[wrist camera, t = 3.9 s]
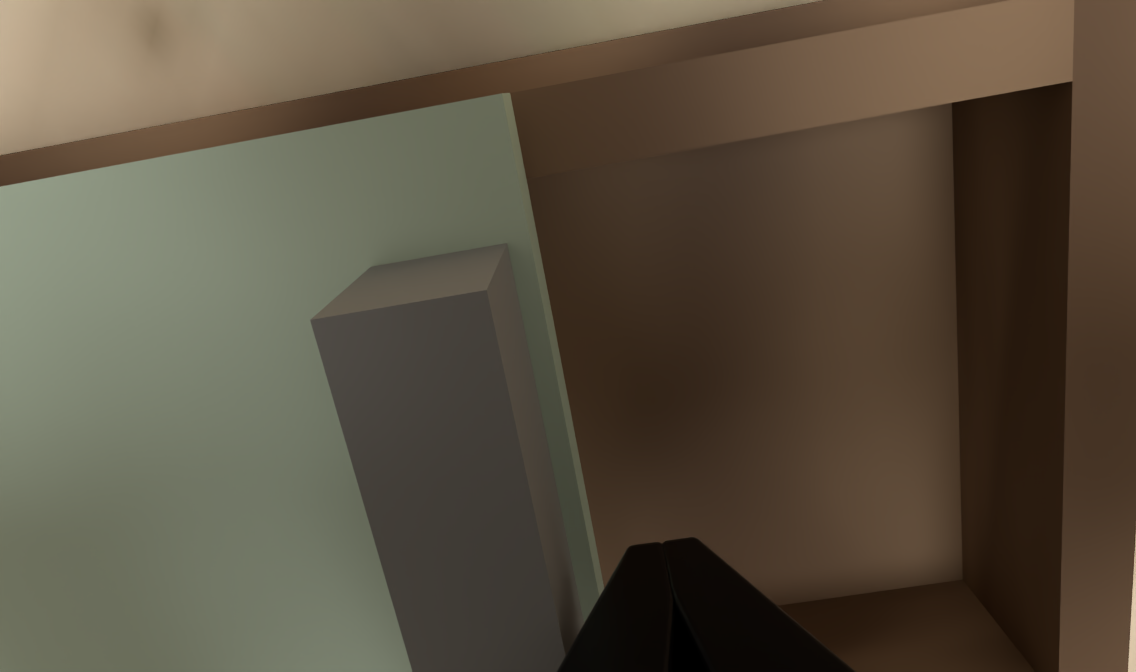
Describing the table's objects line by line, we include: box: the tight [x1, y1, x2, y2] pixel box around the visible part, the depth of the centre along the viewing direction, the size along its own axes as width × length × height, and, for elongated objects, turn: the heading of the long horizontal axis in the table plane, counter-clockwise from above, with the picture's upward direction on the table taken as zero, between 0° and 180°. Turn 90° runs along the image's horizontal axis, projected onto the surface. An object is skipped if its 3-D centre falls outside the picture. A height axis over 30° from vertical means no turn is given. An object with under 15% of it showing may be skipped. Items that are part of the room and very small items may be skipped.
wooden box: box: [0, 0, 1136, 672], centre depth 13 cm, size 23×12×4 cm, turn 100°
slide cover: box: [0, 93, 604, 672], centre depth 9 cm, size 11×11×3 cm
